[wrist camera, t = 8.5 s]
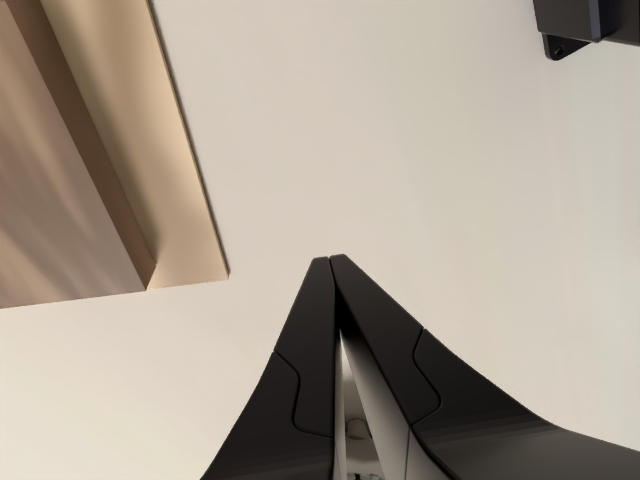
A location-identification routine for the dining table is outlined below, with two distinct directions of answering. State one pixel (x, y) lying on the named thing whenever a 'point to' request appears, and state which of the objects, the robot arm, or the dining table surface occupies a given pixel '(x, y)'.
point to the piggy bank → (361, 453)
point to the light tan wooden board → (141, 131)
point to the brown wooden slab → (57, 179)
